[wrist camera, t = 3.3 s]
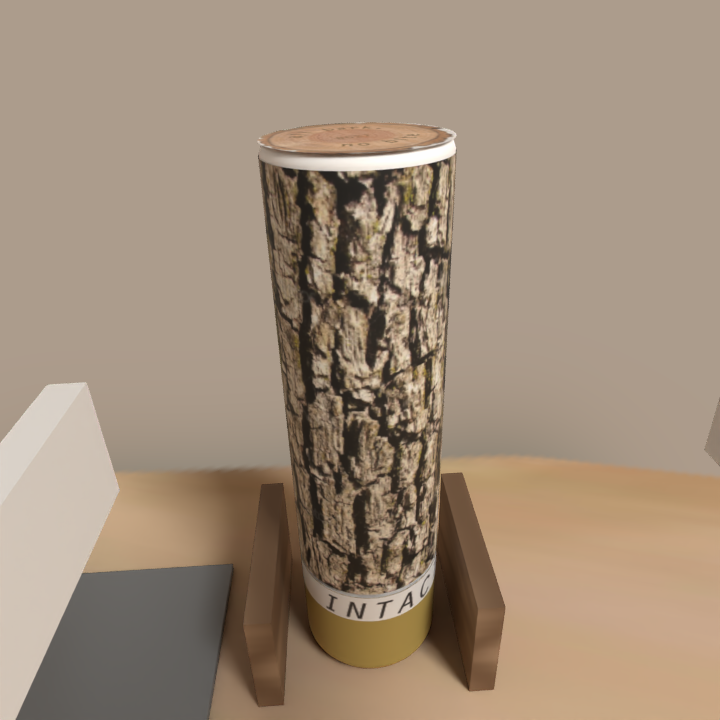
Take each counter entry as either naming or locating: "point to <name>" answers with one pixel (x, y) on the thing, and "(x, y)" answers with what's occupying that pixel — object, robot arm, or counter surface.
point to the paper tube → (363, 368)
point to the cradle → (460, 570)
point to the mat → (135, 647)
